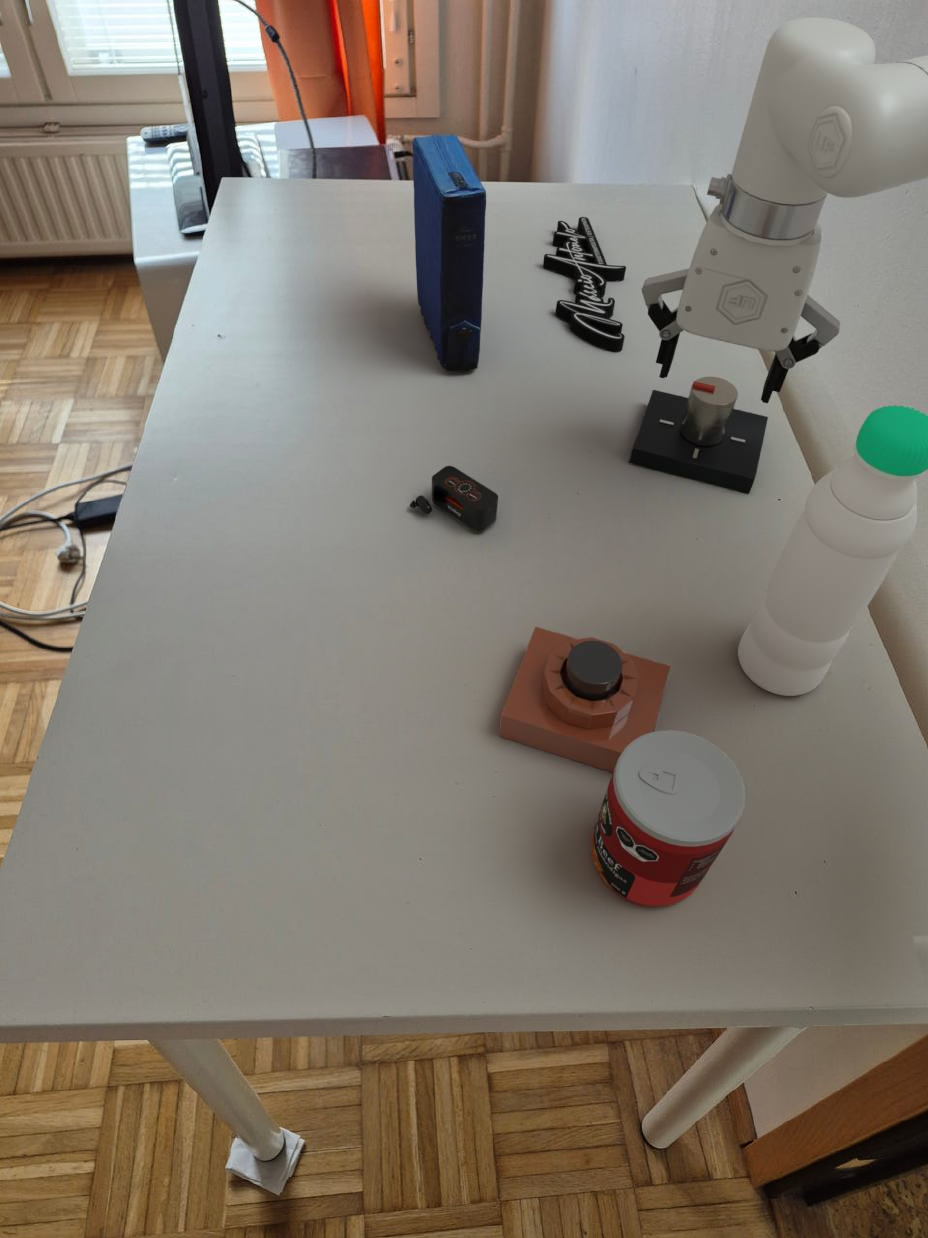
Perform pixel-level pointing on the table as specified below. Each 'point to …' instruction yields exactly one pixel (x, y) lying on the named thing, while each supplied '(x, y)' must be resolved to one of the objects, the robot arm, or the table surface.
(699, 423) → the dial
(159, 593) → the table surface
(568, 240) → the nameplate
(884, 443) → the water bottle
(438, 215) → the book
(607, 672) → the button
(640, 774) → the canned food
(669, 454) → the panel
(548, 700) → the push button box
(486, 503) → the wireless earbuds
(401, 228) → the table surface
